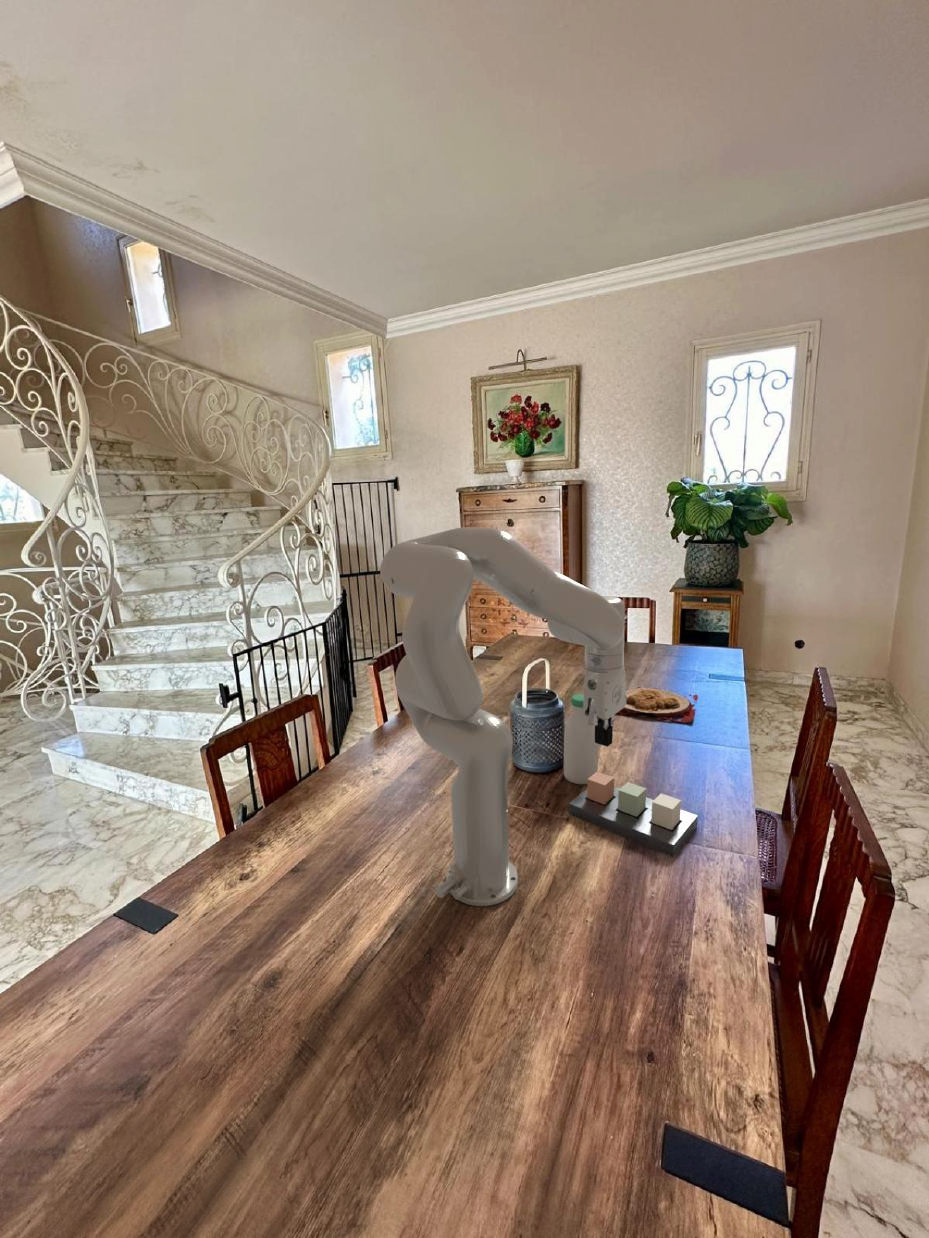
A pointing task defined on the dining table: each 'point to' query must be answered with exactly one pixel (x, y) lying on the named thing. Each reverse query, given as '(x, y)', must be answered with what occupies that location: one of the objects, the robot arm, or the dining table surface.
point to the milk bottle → (579, 745)
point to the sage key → (632, 799)
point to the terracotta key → (600, 787)
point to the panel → (634, 823)
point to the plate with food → (659, 704)
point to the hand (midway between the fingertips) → (603, 743)
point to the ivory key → (666, 811)
